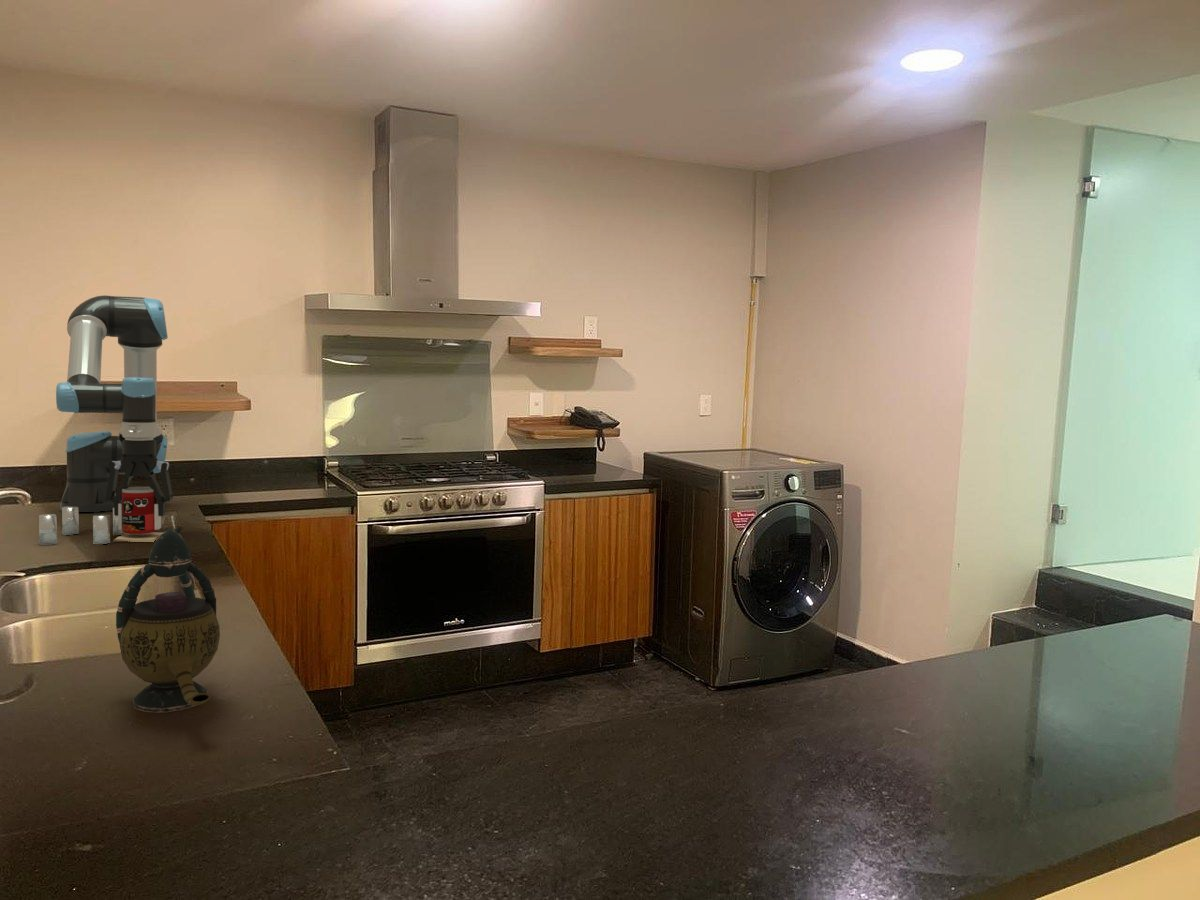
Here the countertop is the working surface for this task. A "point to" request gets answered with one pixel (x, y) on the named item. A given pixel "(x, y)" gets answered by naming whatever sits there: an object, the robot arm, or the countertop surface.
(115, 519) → the cylinder
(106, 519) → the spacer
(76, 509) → the cylinder
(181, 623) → the teapot
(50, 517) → the cylinder
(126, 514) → the canned food
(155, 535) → the coaster
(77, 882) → the countertop surface
